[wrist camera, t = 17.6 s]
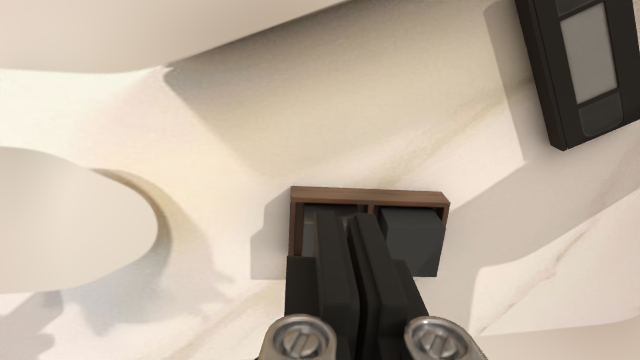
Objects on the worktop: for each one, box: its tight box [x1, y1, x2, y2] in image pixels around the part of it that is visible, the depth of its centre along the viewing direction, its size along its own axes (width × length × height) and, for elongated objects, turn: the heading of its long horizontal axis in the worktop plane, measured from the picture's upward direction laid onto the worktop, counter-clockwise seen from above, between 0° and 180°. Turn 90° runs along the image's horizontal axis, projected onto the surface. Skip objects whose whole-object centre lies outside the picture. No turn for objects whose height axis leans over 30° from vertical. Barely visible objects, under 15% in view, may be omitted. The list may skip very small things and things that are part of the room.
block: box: [377, 206, 446, 277], centre depth 37 cm, size 5×5×4 cm
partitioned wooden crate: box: [288, 186, 450, 256], centre depth 37 cm, size 14×7×5 cm, turn 86°
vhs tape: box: [515, 0, 640, 151], centre depth 34 cm, size 8×14×2 cm, turn 25°
